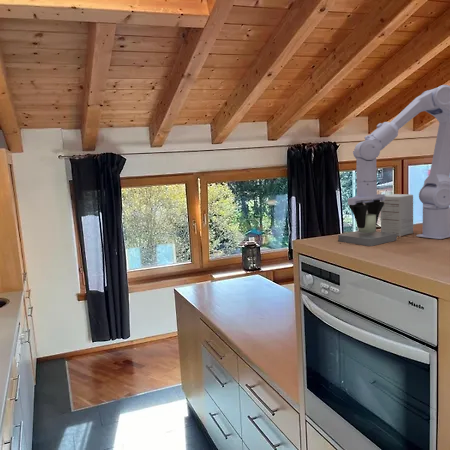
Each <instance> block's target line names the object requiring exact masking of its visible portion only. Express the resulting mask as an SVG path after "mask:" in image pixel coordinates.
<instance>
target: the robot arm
mask: <svg viewBox="0 0 450 450" xmlns="http://www.w3.org/2000/svg"><path fill="white" fill-rule="evenodd" d="M422 112H426V113H428V114H430V115H431V116H433V117H434V118H435V119H436V120H437V121H438V123H439V124H438V129H437V134H436V140H435V145H434V148H433V149H434V150H433V156H432V160H431V165H430V170H429V175H428V176H427V177H426V178H425V179H424V182H423V185H422V187H421V188H420V190H419V192H418V198H419V201H420V202H421V203H422V233H420V234H416V237H420V238H427V239H434V240H443V239H447V238H450V84H449V85H448V84H442V85H439V86H438V87H435V88H432V89H428V90H425V91H423V92H422V93H421V94H420V95H418V96H416V97H415V98H414V99H413V100H412V101H411V102H409V104H408V105H407V106H406V107H404V109H402V110H401V112H399V113H398V114H397V115H396V117H395V116H394V118H393V119H392V120H391V121H390V122H389V121H384V122H382V123H381V122H379V123H378V124H377V125H375V126H376V129H374V130H373V131H372V132H371V133H370V134H369V135H368V134H367V135H365V136H364V140H363V141H360V142H358V143H356V145H355V146H354V149H353V151H352V154H353V157H354V158H355V159H356V166H355V167H356V168H355V169H356V170H355V171H356V177H355V178H356V195H354V196H353V197H349V198H347V205H348V206H349V207H348V208H349V209H350V210H351V212H352V215H353V216H354V217H353V218H354V219H355V223H356V227H357V229H358V228H364V227H365V218H366V212H367V211H368V214H375V215H376V226H377V224H378V220H379V216H380V215H381V209H382V207H383V206H384V202H381V201H385V195H386V194H385V193H383V194H382V193H379V194H378V188H377V183H378V182H377V180H378V179H377V175H378V174H377V172H378V171H377V170H378V169H377V158H378V157H380V153H381V151H382V150H384V149H385V148H386V147H387V146H388V145H389V144H390V143H391V142H393V141H394V140H395V139H396V138H398V135H399V130H401V128H403V127H404V126H405V125H406V124H407V123H409V122H411V120H412V119H414V118H415V117H416V116H417V115H419V114H420V113H422ZM365 200H368V201H365ZM363 203H365V205H364V204H363Z"/></svg>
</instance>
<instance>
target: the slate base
mask: <svg viewBox="0 0 450 450" xmlns="http://www.w3.org/2000/svg"><path fill="white" fill-rule="evenodd" d="M337 236H338V237H337V238H338V241H337V242H339V243H340V242H341V243H347V244H353V245H359V246H360V245H361V246H367V247H373V246H378V245H382V244H383V245H384V244H386V243H391V242H395V241H397V240H398V239H397V237H398V236H397V234H394V233H386V232H381V231H378V230H376V232H372V233H363V232H359V230H357V231H352V232H348V233H340V234H338V235H337Z"/></svg>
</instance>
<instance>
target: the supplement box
mask: <svg viewBox="0 0 450 450" xmlns="http://www.w3.org/2000/svg"><path fill="white" fill-rule="evenodd" d="M380 202H384V206H383V207H382V209H381V211H380V232H386V233H394V234H397V237H402V236H406V235H410V234H414V195H413V194H411V193H410V194H407V193H406V194H402V193H399V194H398V193H392V194H385V201H380Z"/></svg>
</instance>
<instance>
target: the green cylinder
mask: <svg viewBox="0 0 450 450" xmlns="http://www.w3.org/2000/svg"><path fill="white" fill-rule="evenodd" d="M358 231H359V232H363V233H372V232H376V231H377V225H376V215H375V214H366V218H365V227H364V228H359V229H358Z"/></svg>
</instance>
